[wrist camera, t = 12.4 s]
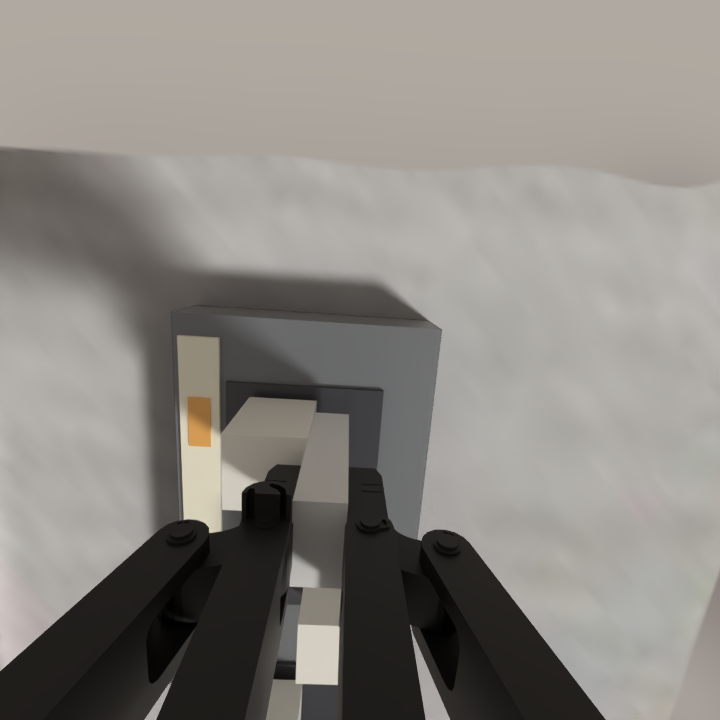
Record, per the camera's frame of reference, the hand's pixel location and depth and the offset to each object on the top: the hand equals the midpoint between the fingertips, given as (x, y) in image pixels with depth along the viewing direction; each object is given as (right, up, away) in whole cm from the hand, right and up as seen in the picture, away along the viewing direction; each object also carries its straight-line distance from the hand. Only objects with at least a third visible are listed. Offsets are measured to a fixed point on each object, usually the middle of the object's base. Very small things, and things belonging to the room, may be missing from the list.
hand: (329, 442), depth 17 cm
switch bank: (-2, -7, +6) cm, 9 cm away
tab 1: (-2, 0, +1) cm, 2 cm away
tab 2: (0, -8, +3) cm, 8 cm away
